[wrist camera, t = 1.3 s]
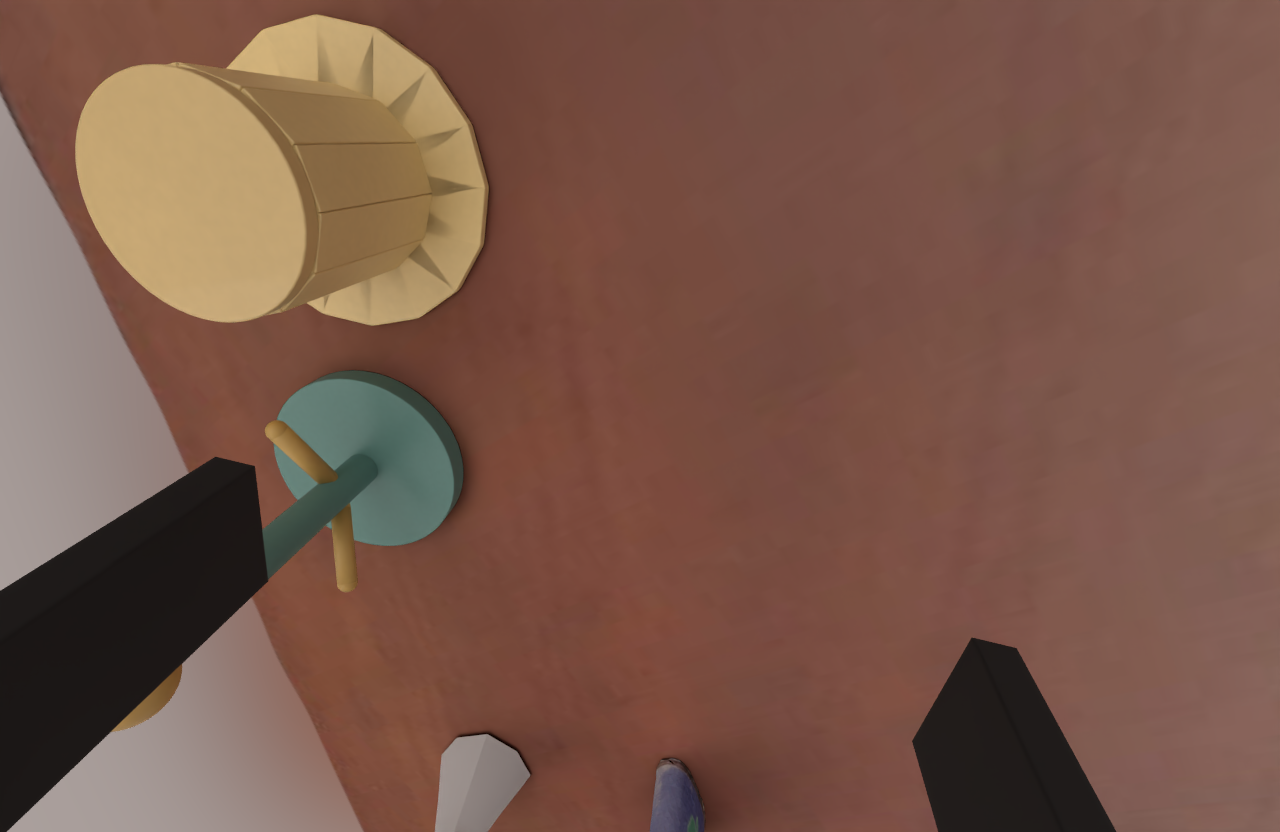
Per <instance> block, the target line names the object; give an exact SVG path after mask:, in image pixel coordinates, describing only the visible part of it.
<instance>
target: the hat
mask: <svg viewBox="0 0 1280 832" xmlns="http://www.w3.org/2000/svg"><path fill="white" fill-rule="evenodd" d="M75 150H76V167H77V174H78V180H79V184H80V188H81V192H82V195H83V198H84V201H85V204H86V207H87V209H88V212H89V214H90V216H91V218H92V220H93V222H94V225H95V227H96V228H97V230H98V232H99V234H100V235H101V237H102V239H103V241H104V242H105V244H106V245H107V246H108V248H109V249H110V251H111V252H112V254H113V255H114V256H115V257H116V259H117V260H118V261H119V262H120V264H121V265H122V266H123V267H124V268H125V269H126V270H127V271H128V272H129V273H130V274H131V276H132V277H133V278H134V279H135V280H136V281H138V282H139V283H140V284H141V285H142V286H143V287H145V288H146V289H147V290H148V291H149V292H151V293H152V294H154V295H155V296H156V297H158V298H159V299H161V300H162V301H164V302H165V303H167V304H169V305H171V306H172V307H174V308H176V309H178V310H180V311H183V312H185V313H187V314H189V315H192V316H195V317H199V318H202V319H206V320H211V321H216V322H230V323H234V322H244V321H249V320H253V319H256V318H259V317H262V316H265V315H269V314H275V313H281V312H284V311H286V310H289V309H292V308H294V307H297V306H300V305H302V304H305V303H307V304H309V305H310V306H312V307H314V308H315V309H317V310H318V311H320V312H321V313H323V314H326V315H330V316H334V317H338V318H342V319H346V320H350V321H354V322H358V323H363V324H367V325H371V326H375V325H381V324H388V323H394V322H400V321H406V320H412V319H418V318H420V317H422V316H424V315H425V314H426V313H428V312H429V311H431V310H432V309H433V308H435V307H436V306H438V305H439V304H440V303H442V302H443V301H445V300H446V299H447V298H449V297H450V296H451V295H453V294H454V293H456V292H457V291H458V290H460V288H461V287H462V285H463V283H464V281H465V279H466V277H467V275H468V274H469V272H470V270H471V268H472V266H473V264H474V262H475V261H476V259H477V257H478V255H479V253H480V251H481V249H482V247H483V244H484V239H485V227H486V216H487V205H488V193H489V185H488V181H487V178H486V174H485V170H484V167H483V163H482V159H481V155H480V152H479V148H478V144H477V140H476V137H475V133H474V129H473V126H472V124H471V122H470V121H469V119H468V118H467V116H466V115H465V113H464V112H463V110H462V109H461V107H460V106H459V104H458V103H457V101H456V100H455V98H454V97H453V95H452V94H451V92H450V91H449V89H448V88H447V86H446V85H445V83H444V82H443V80H442V79H441V77H440V76H439V74H438V73H437V71H436V70H435V69H434V68H433V67H432V66H431V65H429V64H428V63H427V62H425V61H424V60H423V59H421V58H420V57H418V56H417V55H416V54H414V53H413V52H412V51H410V50H409V49H408V48H406V47H405V46H403V45H402V44H401V43H399V42H398V41H397V40H395V39H394V38H393V37H391V36H390V35H388V34H387V33H386V32H384V31H383V30H381V29H379V28H376V27H372V26H367V25H363V24H358V23H354V22H350V21H345V20H341V19H336V18H332V17H327V16H323V15H318V14H317V15H316V14H314V15H311V16H307V17H304V18H301V19H297V20H294V21H290V22H287V23H283V24H280V25H276V26H273V27H269V28H266V29H263V30H262V31H261V32H260V33H259V34H258V35H257V36H256V37H255V38H254V39H253V40H252V41H251V42H250V43H249V44H248V46H247V47H246V48H245V49H244V50H243V51H242V52H241V53H240V54H239V55H238V56H237V57H236V58H235V60H234V61H233V62H232V63H231V64H230V65H229V66H228V67H227V68H226V69H224V68H217V67H210V66H203V65H195V64H188V63H179V62H174V63H170V64H167V65H164V64H143V65H138V66H133V67H129V68H127V69H124V70H122V71H119V72H117V73H115V74H114V75H112V76H110V77H109V78H107V79H106V80H104V81H103V82H102V83H101V84H100V85H99V86H98V87H97V88H96V89H95V90H94V92H93V93H92V95H91V96H90V98H89V99H88V101H87V102H86V105H85V107H84V109H83V111H82V114H81V117H80V120H79V124H78V128H77V135H76V144H75Z"/></svg>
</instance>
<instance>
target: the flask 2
mask: <svg viewBox="0 0 1280 832" xmlns="http://www.w3.org/2000/svg"><path fill="white" fill-rule="evenodd" d="M669 760H670V761H672V762H673V763H674V764H675V765H674V764H672V763H671V762H669ZM704 825H705V811H704V804H703V802H702V798H701V797H700V794H699V791H698V789H697V787H696V784H695V783H694V780H693V777H692V776H691V773H690V771H689V770H688V769H687V768H686V766H684V764H683V763H681V761H680V760H676V759H672V758H671V759H668V760H661V761H660V763H659V764H658V766H657V770H656V782H655V792H654V800H653V810H652V818H651V826H650V832H704Z"/></svg>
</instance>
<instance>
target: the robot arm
mask: <svg viewBox="0 0 1280 832" xmlns="http://www.w3.org/2000/svg"><path fill="white" fill-rule="evenodd" d="M267 582H268V574H267V566H266V557H265V549H264V540H263V532H262V523H261V515H260V507H259V498H258V490H257V481H256V473H255V466H252V465H248V464H243V463H239V462H235V461H231V460H227V459H223V458H218V457H214V458H213V459H211V460H210V461H208V462H206V463H205V464H203V465H202V466H200V467H198V468H197V469H195V470H194V471H192V472H190V473H189V474H187V475H186V476H184V477H182V478H181V479H179V480H177V481H176V482H174V483H173V484H171V485H169V486H168V487H166V488H165V489H163V490H161V491H160V492H158V493H157V494H155V495H153V496H152V497H151V498H149V499H147V500H145V501H144V502H143V503H141V504H139V505H137V506H136V507H134V508H133V509H131V510H129V511H128V512H126V513H125V514H123V515H121V516H120V517H118V518H117V519H115V520H114V521H112V522H110V523H109V524H107V525H106V526H104V527H102V528H100V529H99V530H97V531H96V532H94V533H92V534H91V535H89V536H88V537H86V538H84V539H83V540H81V541H80V542H78V543H76V544H75V545H73V546H72V547H70V548H68V549H67V550H65V551H64V552H62V553H60V554H59V555H57V556H55V557H54V558H52V559H51V560H49V561H47V562H46V563H44V564H43V565H41V566H39V567H38V568H36V569H35V570H33V571H31V572H30V573H28V574H27V575H25V576H23V577H22V578H20V579H19V580H17V581H15V582H14V583H12V584H11V585H9V586H7V587H6V588H4V589H3V590H1V591H0V832H7V831H8V830H9V829H10V828H11V827H12V826H13V825H14V824H15V823H16V822H17V821H18V820H19V819H20V818H21V817H22V816H23V815H24V814H25V813H27V812H28V811H29V810H30V809H31V808H32V807H33V806H34V805H35V804H36V803H37V802H38V801H39V800H40V799H41V798H42V797H43V796H44V795H45V794H46V793H47V792H49V790H51V789H52V788H53V787H54V786H55V785H56V784H57V783H58V782H59V781H60V780H61V779H62V778H63V777H64V776H65V775H66V774H67V773H68V772H69V771H70V770H71V769H72V768H74V767H75V766H76V765H77V764H78V763H79V762H80V761H81V760H82V759H83V758H84V757H85V756H86V755H87V754H88V753H89V752H90V751H91V750H92V749H93V748H94V747H95V746H96V745H97V744H99V743H100V742H101V741H102V740H103V739H104V738H105V737H106V736H107V735H108V734H109V733H110V732H111V731H112V730H113V729H114V728H115V727H116V726H117V725H118V724H119V723H121V722H122V721H123V720H124V719H125V718H126V717H127V716H128V715H129V714H130V713H131V712H132V711H133V710H134V709H135V708H136V707H137V706H138V705H139V704H140V703H141V702H142V701H143V700H145V699H146V698H147V697H148V696H149V695H150V694H151V693H152V692H153V691H154V690H155V689H156V688H157V687H158V686H159V685H160V684H161V683H162V682H163V681H164V680H165V679H166V678H167V677H169V676H170V675H171V674H172V673H173V672H174V671H175V670H176V669H177V668H178V667H179V666H180V665H181V664H182V663H183V662H184V661H185V660H186V659H187V658H188V657H189V656H190V655H191V654H193V653H194V652H195V650H197V649H198V648H199V647H200V646H201V645H202V644H203V643H204V642H205V641H206V640H207V639H208V638H209V637H210V636H211V635H212V634H213V633H214V632H215V631H216V630H218V629H219V627H221V626H222V625H223V624H224V623H225V622H226V621H227V620H228V619H229V618H230V617H231V616H232V615H233V614H234V613H235V612H236V611H237V610H238V609H239V608H241V607H242V606H243V605H244V604H245V603H246V602H247V601H248V600H249V599H250V598H251V597H252V596H253V595H254V594H255V593H256V592H257V591H258V590H259V589H260V588H261V587H262V586H263V585H265V584H266V583H267ZM912 742H913V746H914V749H915V753H916V756H917V759H918V763H919V766H920V770H921V773H922V777H923V780H924V784H925V787H926V791H927V794H928V797H929V801H930V804H931V808H932V811H933V815H934V818H935V822H936V825H937V829H938V832H1116V830H1115V829H1114V827H1113V825H1112V823H1111V821H1110V819H1109V818H1108V816H1107V814H1106V812H1105V810H1104V808H1103V806H1102V805H1101V803H1100V801H1099V799H1098V797H1097V795H1096V794H1095V792H1094V790H1093V788H1092V786H1091V784H1090V783H1089V781H1088V779H1087V777H1086V775H1085V773H1084V772H1083V770H1082V768H1081V766H1080V764H1079V762H1078V760H1077V759H1076V757H1075V755H1074V753H1073V751H1072V749H1071V748H1070V746H1069V744H1068V742H1067V740H1066V738H1065V737H1064V735H1063V733H1062V731H1061V729H1060V727H1059V726H1058V724H1057V722H1056V720H1055V718H1054V716H1053V714H1052V713H1051V711H1050V709H1049V707H1048V705H1047V703H1046V702H1045V700H1044V698H1043V696H1042V694H1041V692H1040V691H1039V689H1038V687H1037V685H1036V683H1035V681H1034V680H1033V678H1032V676H1031V674H1030V672H1029V670H1028V668H1027V667H1026V665H1025V663H1024V661H1023V659H1022V657H1021V656H1020V654H1019V652H1018V650H1017V648H1013V647H1009V646H1005V645H1001V644H997V643H992V642H988V641H984V640H980V639H976V638H971V640H970V642H969V643H968V645H967V647H966V649H965V650H964V652H963V654H962V656H961V657H960V659H959V661H958V662H957V664H956V666H955V668H954V669H953V671H952V673H951V675H950V676H949V678H948V680H947V682H946V683H945V685H944V687H943V689H942V690H941V692H940V694H939V695H938V697H937V699H936V701H935V702H934V704H933V706H932V708H931V709H930V711H929V713H928V715H927V716H926V718H925V720H924V722H923V723H922V725H921V727H920V728H919V730H918V732H917V734H916V735H915V737H914V739H913V741H912Z"/></svg>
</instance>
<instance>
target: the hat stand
mask: <svg viewBox="0 0 1280 832" xmlns="http://www.w3.org/2000/svg"><path fill="white" fill-rule="evenodd" d="M265 434H266V436H267V437H268V438H269V439H270V440H271V441H272V442H273V443H274V450H275V456H276V460H277V464H278V467H279V469H280V472H281V474H282V477H283V479H284V480H285V482H286V484H287V486H288V488H289V489H290V490H291V492H292V493H293V495H294V496H295V498H296V499H297V500H298V501H297V502H295V503H294V504H293V505H292V506H291V507H289V508H288V509H287V510H286V511H284V512H283V513H282V514H281V515H280V516H278V517H277V518H276V519H275V520H274V521H272V522H271V523H270V524H269V525H268V526H266V527H265V528H264V529H263V530H262V532H263V540H264V549H265V557H266V566H267V574H268V579H269V578H270V577H271V576H272V575H274V574H275V573H276V572H277V571H278V570H279V569H280V568H281V567H282V566H283V565H284V564H285V563H286V562H287V561H288V560H289V559H291V558H292V557H293V556H294V555H295V554H296V553H297V552H298V551H299V550H300V549H301V548H302V547H303V546H304V545H305V544H306V543H307V542H309V541H310V540H311V539H312V538H313V537H314V536H315V535H316V534H317V533H318V532H319V531H320V530H321V529H322V528H323V527H324V526H325V525H326V526H327V527H329V528H330V529H332V534H333V545H334V556H335V567H336V578H337V586H338V588H339V589H340V590H341V591H343V592H350V591H352V590H354V589H355V588H356V586H357V583H358V578H357V567H356V556H355V546H354V540H357V541H360V542H363V543H368V544H373V545H381V546H396V545H403V544H408V543H411V542H415V541H417V540H420V539H422V538H424V537H426V536H427V535H429V534H430V533H432V532H433V531H434V530H435V529H436V528H438V527H439V526H440V524H441V523H442V522H443V521H444V519H445V518H446V517H447V515H448V514H449V513H450V511H451V510H452V509H453V507H454V506H455V504H456V502H457V500H458V498H459V495H460V493H461V490H462V484H463V462H462V456H461V453H460V449H459V446H458V444H457V441H456V439H455V436H454V434H453V433H452V431H451V429H450V427H449V426H448V424H447V423H446V421H445V420H444V419H443V417H442V416H441V415H440V413H439V412H438V411H437V410H436V409H435V408H434V407H433V406H432V405H431V404H430V403H429V402H428V401H427V400H426V399H425V398H424V397H422V396H421V395H420V394H418V393H417V392H416V391H414V390H413V389H411V388H409V387H408V386H406V385H404V384H403V383H401V382H399V381H396V380H394V379H392V378H390V377H387V376H383V375H380V374H377V373H372V372H367V371H354V370H351V371H340V372H335V373H331V374H328V375H325V376H323V377H320V378H318V379H317V380H315V381H313V382H311V383H310V384H308V385H306V386H305V387H303V388H301V389H300V390H298V391H297V392H295V393H294V394H293V395H292V396H291V397H290V398H289V399H288V400H287V401H286V403H285V404H284V405H283V407H282V409H281V411H280V413H279V415H278V417H277V420H275V421H271V422H270V423H268V424H267V426H266V428H265ZM181 674H182V664H181V665H180V666H179V667H178V668H177V669H176V670H175V671H174V672H173V673H172V674H171V675H170V676H169V677H167V678H166V679H165V680H164V681H163V682H162V683H161V684H160V685H159V686H158V687H157V688H156V689H155V690H154V691H153V692H152V693H151V694H150V695H149V696H148V697H147V698H146V699H145V700H143V701H142V702H141V703H140V704H139V705H138V706H137V707H136V708H135V709H134V710H133V711H132V712H131V713H130V714H129V715H128V716H127V717H126V718H125V719H124V720H123V721H122V722H121V723H119V724H118V725H117V726H116V727H115V728H114V729H113V730H112V731H111V732H114V731H120V730H124V729H128V728H131V727H133V726H136V725H138V724H140V723H142V722H144V721H146V720H148V719H149V718H151V717H152V716H154V715H155V714H156V713H158V712H159V711H160V710H161V709H162V708H163V707H164V706H165V705H166V704H167V703H168V701H169V700H170V699H171V698H172V696H173V695H174V693H175V691H176V689H177V687H178V685H179V682H180V679H181Z"/></svg>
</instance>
